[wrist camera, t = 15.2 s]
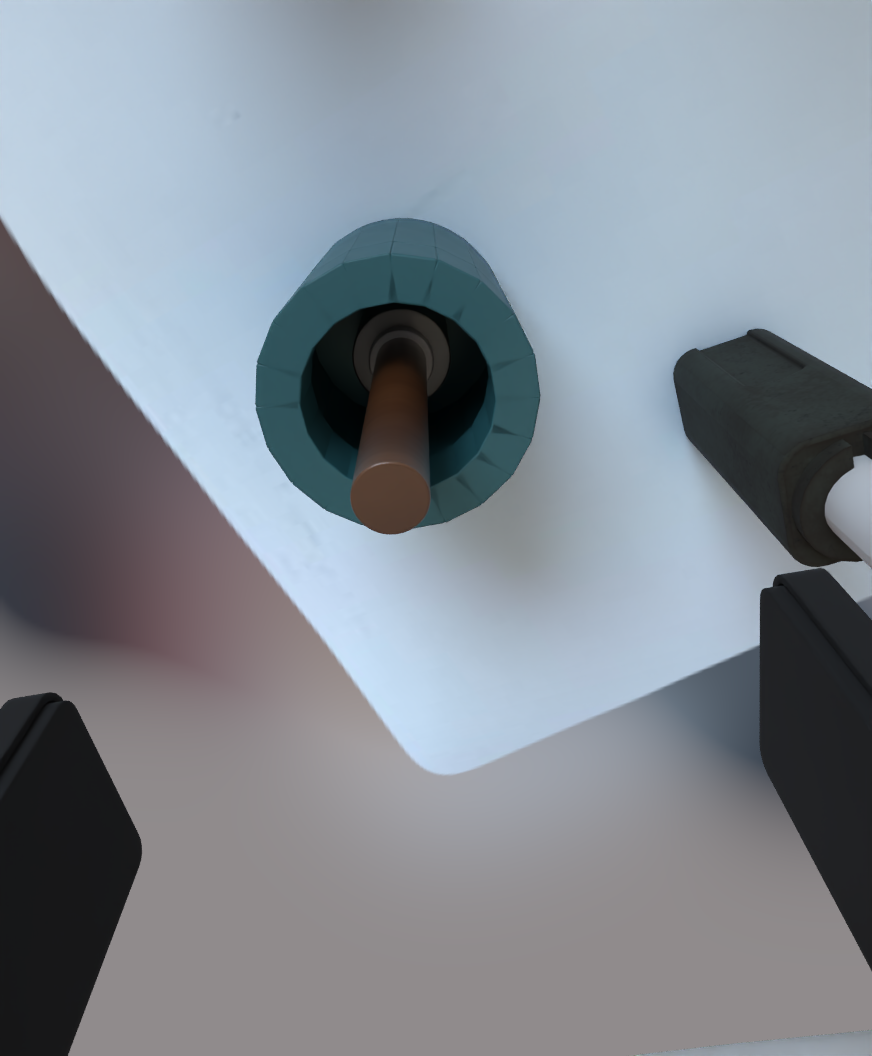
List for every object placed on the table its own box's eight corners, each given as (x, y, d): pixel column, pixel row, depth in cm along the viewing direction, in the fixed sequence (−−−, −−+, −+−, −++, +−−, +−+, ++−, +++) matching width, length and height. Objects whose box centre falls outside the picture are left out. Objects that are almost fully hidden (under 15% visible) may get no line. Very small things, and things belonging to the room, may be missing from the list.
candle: (688, 451, 40) (1023, 845, 18) (668, 356, 38) (1019, 671, 16) (789, 419, 40) (1267, 788, 17) (775, 321, 38) (1299, 598, 15)
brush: (351, 295, 36) (290, 439, 19) (438, 278, 36) (455, 408, 19) (370, 380, 38) (331, 581, 21) (453, 364, 38) (482, 555, 21)
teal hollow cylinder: (279, 241, 36) (218, 287, 25) (487, 198, 35) (517, 226, 24) (330, 437, 40) (297, 549, 29) (517, 402, 39) (555, 504, 28)
